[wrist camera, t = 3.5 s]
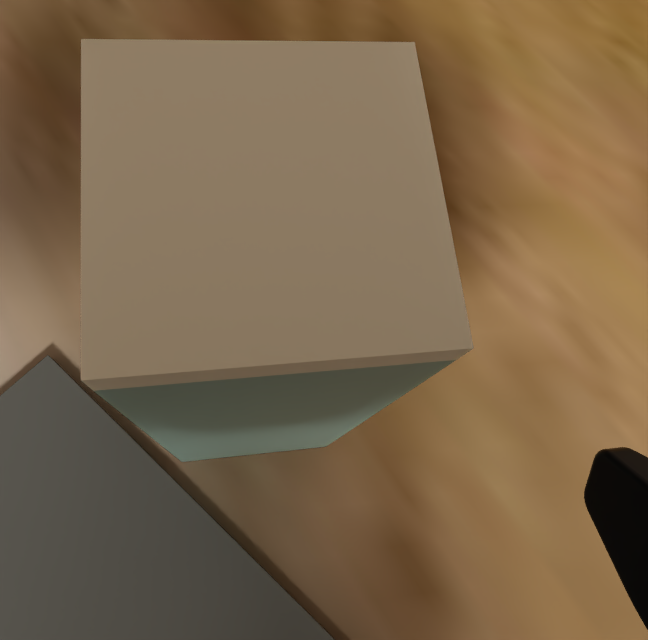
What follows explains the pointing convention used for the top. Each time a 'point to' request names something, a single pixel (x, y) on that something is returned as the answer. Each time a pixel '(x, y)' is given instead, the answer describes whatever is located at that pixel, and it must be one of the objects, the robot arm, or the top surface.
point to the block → (260, 239)
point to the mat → (115, 536)
